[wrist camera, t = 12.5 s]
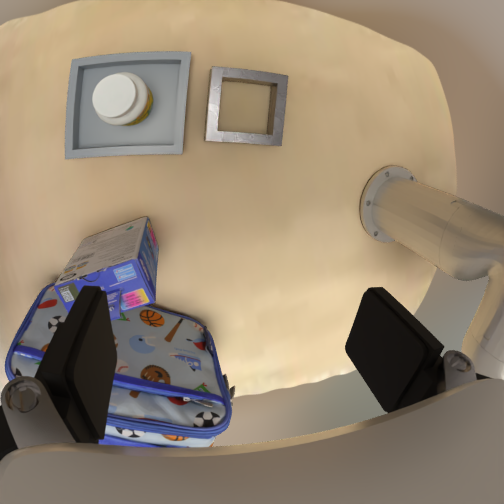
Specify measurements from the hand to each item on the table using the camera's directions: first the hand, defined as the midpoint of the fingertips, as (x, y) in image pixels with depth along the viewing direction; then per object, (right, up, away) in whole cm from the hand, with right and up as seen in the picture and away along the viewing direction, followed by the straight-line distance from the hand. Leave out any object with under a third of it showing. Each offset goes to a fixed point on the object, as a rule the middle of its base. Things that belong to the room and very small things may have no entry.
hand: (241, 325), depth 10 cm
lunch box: (-18, -8, +30) cm, 36 cm away
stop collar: (-1, +20, +22) cm, 30 cm away
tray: (-14, +20, +19) cm, 31 cm away
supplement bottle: (-14, +20, +18) cm, 30 cm away
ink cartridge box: (-17, +3, +26) cm, 31 cm away
